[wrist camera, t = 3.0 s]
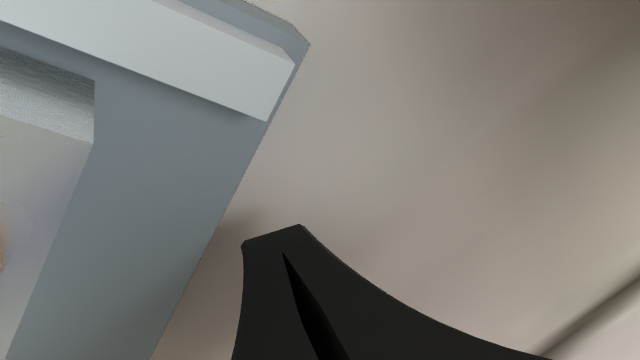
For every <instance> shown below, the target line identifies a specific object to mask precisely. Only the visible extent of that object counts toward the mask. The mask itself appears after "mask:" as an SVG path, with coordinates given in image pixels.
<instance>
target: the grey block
mask: <svg viewBox="0 0 640 360" xmlns="http://www.w3.org/2000/svg"><path fill="white" fill-rule="evenodd" d="M94 93H95V81H94V80H92V79H89V78H86V77H83V76H81V75H78V74H75V73H72V72H70V71H67V70H64V69H61V68H59V67H56V66H53V65H50V64H48V63H45V62H42V61H39V60H37V59H34V58H31V57H28V56H26V55H23V54H20V53H18V52H15V51H12V50H9V49H7V48H4V47H1V46H0V360H5V357H6V355H7V352H8V350H9V347H10V345H11V343H12V340H13V338H14V335H15V333H16V330H17V328H18V326H19V323H20V321H21V318H22V316H23V314H24V311H25V309H26V306H27V304H28V301H29V299H30V297H31V294H32V292H33V289H34V287H35V284H36V282H37V280H38V277H39V275H40V272H41V270H42V267H43V265H44V263H45V260H46V258H47V255H48V253H49V251H50V248H51V246H52V243H53V241H54V238H55V236H56V234H57V231H58V229H59V226H60V224H61V221H62V219H63V217H64V214H65V212H66V209H67V207H68V204H69V202H70V200H71V197H72V195H73V192H74V190H75V188H76V185H77V183H78V180H79V178H80V175H81V173H82V171H83V168H84V166H85V163H86V161H87V158H88V156H89V154H90V151H91V149H92V146H93V139H94Z"/></svg>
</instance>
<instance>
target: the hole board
mask: <svg viewBox="0 0 640 360" xmlns="http://www.w3.org/2000/svg"><path fill="white" fill-rule="evenodd" d="M310 45H311V44H310V43H309V42H308V41H307V40H306V39H305V38H304V37H303V36H302V34H301V33H300V32H299V31H298V30H297V29H296V28H295V27H294V26H293V25H292V24H291V23H289V22H287V21H285V20H283V19H281V18H278V17H276V16H274V15H272V14H270V13H268V12H266V11H264V10H262V9H260V8H258V7H256V6H253V5H251V4H249V3H247V2H245V1H243V0H0V46H1V47H4V48H7V49H9V50H12V51H15V52H18V53H20V54H23V55H26V56H28V57H31V58H34V59H37V60H39V61H42V62H45V63H48V64H50V65H53V66H56V67H59V68H61V69H64V70H67V71H70V72H72V73H75V74H78V75H81V76H83V77H86V78H89V79H92V80H94V81H95V93H94V139H93V146H92V149H91V151H90V154H89V156H88V158H87V161H86V163H85V166H84V168H83V171H82V173H81V175H80V178H79V180H78V183H77V185H76V188H75V190H74V192H73V195H72V197H71V200H70V202H69V204H68V207H67V209H66V212H65V214H64V217H63V219H62V221H61V224H60V226H59V229H58V231H57V234H56V236H55V238H54V241H53V243H52V246H51V248H50V251H49V253H48V255H47V258H46V260H45V263H44V265H43V267H42V270H41V272H40V275H39V277H38V280H37V282H36V284H35V287H34V289H33V292H32V294H31V297H30V299H29V301H28V304H27V306H26V309H25V311H24V314H23V316H22V318H21V321H20V323H19V326H18V328H17V330H16V333H15V335H14V338H13V340H12V343H11V345H10V347H9V350H8V352H7V355H6V357H5V359H10V360H149V358H150V357H151V355H152V353H153V351H154V349H155V347H156V345H157V343H158V341H159V339H160V337H161V335H162V333H163V331H164V329H165V327H166V325H167V323H168V321H169V319H170V318H171V316H172V314H173V312H174V310H175V308H176V306H177V304H178V302H179V300H180V298H181V296H182V294H183V292H184V290H185V288H186V286H187V284H188V282H189V281H190V279H191V277H192V275H193V273H194V271H195V269H196V267H197V265H198V263H199V261H200V259H201V257H202V255H203V253H204V251H205V249H206V247H207V245H208V243H209V242H210V240H211V238H212V236H213V234H214V232H215V230H216V228H217V226H218V224H219V222H220V220H221V218H222V216H223V214H224V212H225V210H226V208H227V206H228V205H229V203H230V201H231V199H232V197H233V195H234V193H235V191H236V189H237V187H238V185H239V183H240V181H241V179H242V177H243V175H244V173H245V171H246V169H247V167H248V166H249V164H250V162H251V160H252V158H253V156H254V154H255V152H256V150H257V148H258V146H259V144H260V142H261V140H262V138H263V136H264V134H265V132H266V130H267V129H268V127H269V125H270V123H271V121H272V119H273V117H274V115H275V113H276V111H277V109H278V107H279V105H280V103H281V101H282V99H283V97H284V95H285V93H286V91H287V90H288V88H289V86H290V84H291V82H292V80H293V78H294V76H295V74H296V72H297V70H298V68H299V66H300V64H301V62H302V60H303V58H304V56H305V54H306V53H307V51H308V49H309V47H310Z"/></svg>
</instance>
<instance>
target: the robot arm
mask: <svg viewBox="0 0 640 360" xmlns="http://www.w3.org/2000/svg"><path fill="white" fill-rule="evenodd" d="M241 250H242V254H243V264H244V279H243V294H242V305H241V313H240V319H239V324H238V330H237V336H236V341H235V346H234V350H233V354H232V358H231V360H551V359H548V358H544V357H540V356H536V355H532V354H528V353H525V352H521V351H517V350H513V349H510V348H506V347H503V346H500V345H497V344H494V343H491V342H488V341H485V340H482V339H479V338H477V337H474V336H471V335H469V334H467V333H464V332H462V331H459V330H457V329H455V328H452V327H450V326H447V325H445V324H443V323H440V322H438V321H436V320H434V319H432V318H430V317H428V316H426V315H424V314H422V313H420V312H418V311H416V310H415V309H413V308H411V307H409V306H407V305H405V304H404V303H402V302H400V301H399V300H397V299H395V298H394V297H392V296H390V295H389V294H387V293H386V292H384V291H383V290H381V289H380V288H378V287H377V286H375V285H374V284H372V283H371V282H369V281H368V280H366V279H365V278H364V277H362V276H361V275H359V274H358V273H357V272H355V271H354V270H353V269H352V268H350V267H349V266H348V265H346V264H345V263H344V262H342V261H341V260H340V259H339V258H338V257H336V256H335V255H334V254H333V253H332V252H331V251H329V250H328V249H327V248H326V247H325V246H324V245H323V244H321V243H320V242H319V241H318V240H317V239H316V238H315V237H314V236H313V235H312V234H311V233H310V232H309V231H308V230H307V229H306V228H305V227H304V226H302V225H300V224H297V225H294V226H291V227H287V228H284V229H281V230H278V231H274V232H271V233H268V234H265V235H262V236H258V237H255V238H252V239H249V240H245V241H244V242H243V244H242V245H241Z"/></svg>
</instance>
